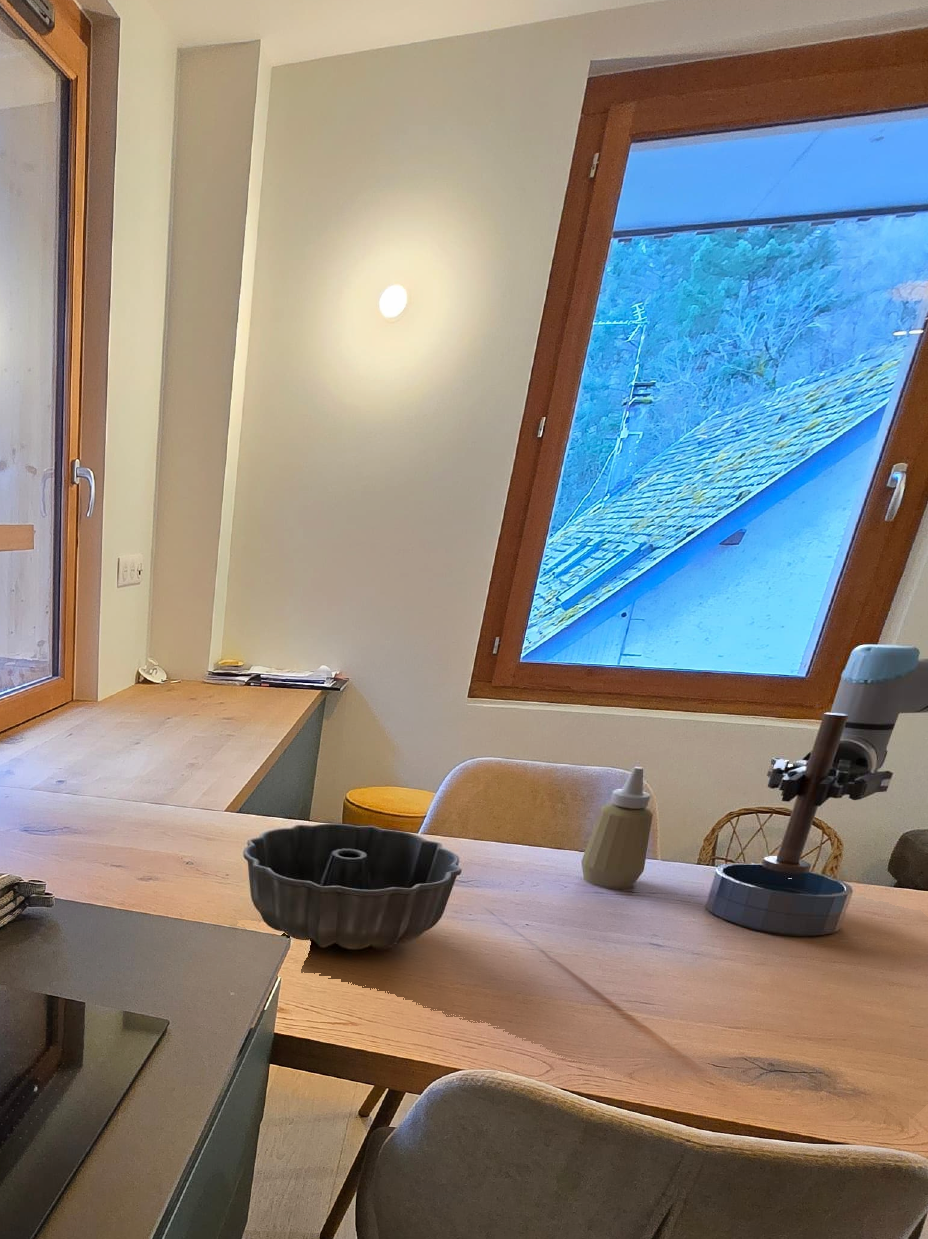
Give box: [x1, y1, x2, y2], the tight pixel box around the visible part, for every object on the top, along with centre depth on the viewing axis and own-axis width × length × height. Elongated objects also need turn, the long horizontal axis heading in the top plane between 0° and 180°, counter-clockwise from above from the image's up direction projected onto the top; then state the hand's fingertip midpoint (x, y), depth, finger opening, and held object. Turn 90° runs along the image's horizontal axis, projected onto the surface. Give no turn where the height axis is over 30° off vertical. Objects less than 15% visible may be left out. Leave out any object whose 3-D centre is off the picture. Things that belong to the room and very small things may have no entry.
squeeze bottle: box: [581, 766, 654, 890], centre depth 137 cm, size 8×8×18 cm
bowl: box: [704, 862, 854, 938], centre depth 128 cm, size 15×15×6 cm
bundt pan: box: [242, 823, 463, 950], centre depth 124 cm, size 26×26×10 cm
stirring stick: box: [761, 712, 849, 874], centre depth 122 cm, size 5×5×20 cm
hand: (804, 792), depth 118 cm, fingers closed on stirring stick, 2 cm apart
